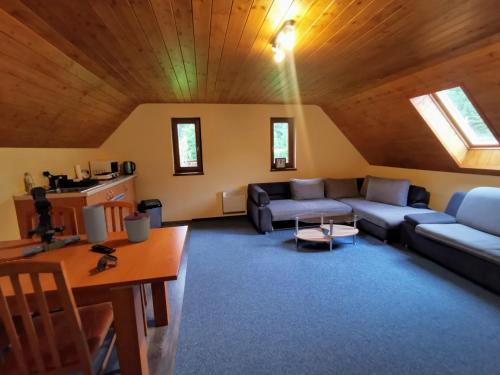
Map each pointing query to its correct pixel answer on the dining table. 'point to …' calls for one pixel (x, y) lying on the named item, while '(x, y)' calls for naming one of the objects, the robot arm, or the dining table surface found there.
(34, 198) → the robot arm
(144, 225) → the canister
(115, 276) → the dining table surface
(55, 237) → the lever
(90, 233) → the cylinder vase
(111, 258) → the dark curved loop
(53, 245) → the valve
